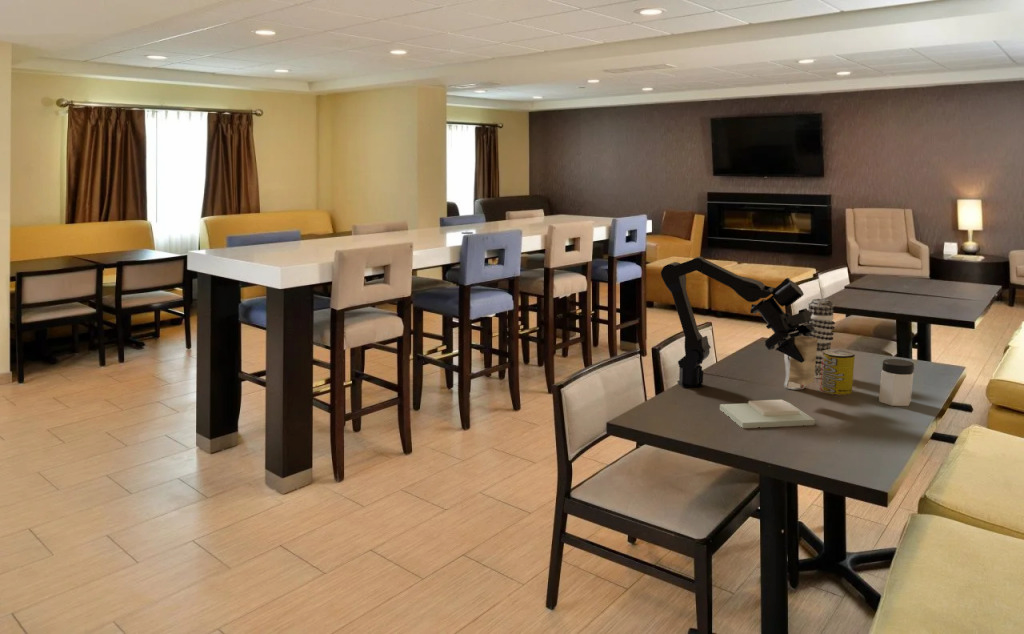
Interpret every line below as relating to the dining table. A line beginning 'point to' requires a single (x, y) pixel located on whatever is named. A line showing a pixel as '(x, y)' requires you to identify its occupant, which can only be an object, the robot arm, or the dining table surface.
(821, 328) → the decorative candle
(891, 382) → the jar
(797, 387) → the beer glass
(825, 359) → the beverage can
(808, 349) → the pillar block
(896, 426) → the dining table surface
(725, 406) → the board
